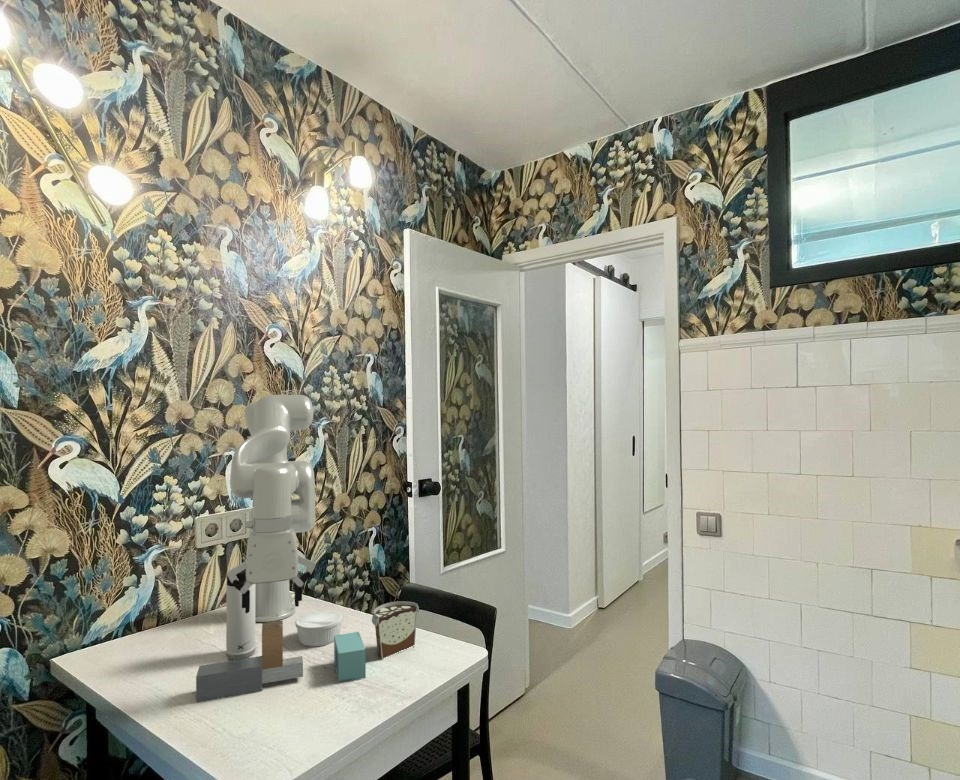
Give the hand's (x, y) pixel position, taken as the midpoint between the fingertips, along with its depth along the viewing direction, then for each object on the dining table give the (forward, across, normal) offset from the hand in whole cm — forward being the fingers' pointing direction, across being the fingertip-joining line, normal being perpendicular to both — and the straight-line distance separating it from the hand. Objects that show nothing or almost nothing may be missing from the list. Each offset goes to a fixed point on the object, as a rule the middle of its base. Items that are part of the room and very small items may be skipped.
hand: (272, 607), depth 115 cm
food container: (+16, +26, +8) cm, 32 cm away
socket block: (+16, +16, +1) cm, 22 cm away
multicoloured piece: (+15, -3, +1) cm, 15 cm away
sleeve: (+16, -8, +1) cm, 18 cm away
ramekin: (+16, +11, +21) cm, 28 cm away
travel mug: (+16, -7, +19) cm, 25 cm away
